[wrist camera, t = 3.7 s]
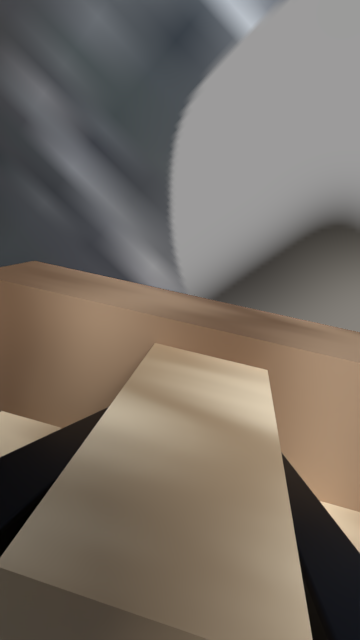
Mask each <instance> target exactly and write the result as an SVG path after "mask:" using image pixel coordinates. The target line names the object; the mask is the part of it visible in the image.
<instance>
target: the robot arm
mask: <svg viewBox="0 0 360 640" xmlns="http://www.w3.org/2000/svg"><path fill="white" fill-rule="evenodd" d="M108 408H109V407H107V408H105V409H103V410H101V411H98V412H96V413H94V414H92V415H90V416H88V417H85V418H83V419H81V420H79V421H77V422H75V423H73V424H70V425H68V426H66V427H64V428H62V429H60V430H57V431H55V432H53V433H51V434H49V435H47V436H44V437H42V438H40V439H38V440H36V441H34V442H32V443H29V444H27V445H25V446H23V447H21V448H19V449H16V450H14V451H12V452H10V453H8V454H6V455H4V456H1V457H0V557H1V556H2V554H3V553H4V552H5V550H6V549H7V547H8V546H9V545H10V543H11V542H12V541H13V539H14V538H15V536H16V535H17V534H18V532H19V531H20V529H21V528H22V527H23V525H24V524H25V523H26V521H27V520H28V518H29V517H30V516H31V514H32V513H33V511H34V510H35V509H36V507H37V506H38V505H39V503H40V502H41V500H42V499H43V498H44V496H45V495H46V493H47V492H48V491H49V489H50V488H51V487H52V485H53V484H54V482H55V481H56V480H57V478H58V477H59V475H60V474H61V473H62V471H63V470H64V469H65V467H66V466H67V464H68V463H69V462H70V460H71V459H72V457H73V456H74V455H75V453H76V452H77V450H78V449H79V448H80V446H81V445H82V444H83V442H84V441H85V439H86V438H87V437H88V435H89V434H90V432H91V431H92V430H93V428H94V427H95V426H96V424H97V423H98V421H99V420H100V419H101V417H102V416H103V414H104V413H105V412H106V410H107V409H108ZM281 454H282V459H283V465H284V471H285V477H286V483H287V489H288V495H289V501H290V507H291V513H292V519H293V525H294V531H295V537H296V543H297V549H298V555H299V561H300V567H301V573H302V579H303V585H304V591H305V597H306V603H307V609H308V615H309V621H310V627H311V633H312V639H313V640H360V552H359V551H358V550H357V549H356V547H355V546H354V545H353V543H352V542H351V541H350V540H349V538H348V537H347V536H346V534H345V533H344V532H343V531H342V529H341V528H340V527H339V525H338V524H337V523H336V522H335V520H334V519H333V518H332V516H331V515H330V514H329V513H328V511H327V510H326V509H325V507H324V506H323V505H322V504H321V502H320V501H319V500H318V498H317V497H316V496H315V494H314V493H313V492H312V491H311V489H310V488H309V487H308V485H307V484H306V483H305V482H304V480H303V479H302V478H301V476H300V475H299V474H298V473H297V471H296V470H295V469H294V467H293V466H292V465H291V464H290V462H289V461H288V460H287V458H286V457H285V456H284V455H283V453H282V452H281Z"/></svg>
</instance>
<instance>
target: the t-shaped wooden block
mask: <svg viewBox="0 0 360 640" xmlns="http://www.w3.org/2000/svg"><path fill="white" fill-rule="evenodd" d="M60 429H62V428H60V427H57V426H53V425H50V424H46V423H43V422H39V421H36V420H32V419H29V418H25V417H21V416H18V415H14V414H11V413H7V412H4V411H1V412H0V457H1V456H4V455H6V454H8V453H10V452H12V451H14V450H16V449H19V448H21V447H23V446H25V445H27V444H29V443H32V442H34V441H36V440H38V439H40V438H42V437H44V436H47V435H49V434H51V433H53V432H55V431H57V430H60ZM320 502H321V504H322V505H323V506H324V507H325V509H326V510H327V511H328V513H329V514H330V515H331V516H332V518H333V519H334V520H335V522H336V523H337V524H338V525H339V527H340V528H341V529H342V531H343V532H344V533H345V534H346V536H347V537H348V538H349V540H350V541H351V542H352V543H353V545H354V546H355V547H356V549H357V550H358V551H359V552H360V512H357V511H354V510H350V509H347V508H343V507H340V506H336V505H332V504H329V503H325V502H322V501H320ZM0 640H313V639H312V633H311V627H310V621H309V615H308V609H307V603H306V597H305V591H304V585H303V579H302V573H301V567H300V561H299V555H298V549H297V543H296V537H295V531H294V525H293V519H292V513H291V507H290V501H289V495H288V489H287V483H286V477H285V471H284V465H283V459H282V454H281V448H280V442H279V436H278V430H277V424H276V418H275V412H274V406H273V400H272V394H271V388H270V382H269V376H268V370H265V369H261V368H257V367H253V366H248V365H244V364H240V363H236V362H232V361H228V360H224V359H219V358H215V357H211V356H207V355H203V354H199V353H195V352H190V351H186V350H182V349H178V348H174V347H170V346H165V345H161V344H157V343H155V344H154V345H153V347H152V348H151V349H150V351H149V352H148V353H147V355H146V356H145V358H144V359H143V360H142V362H141V363H140V365H139V366H138V367H137V369H136V370H135V371H134V373H133V374H132V376H131V377H130V378H129V380H128V381H127V383H126V384H125V385H124V387H123V388H122V390H121V391H120V392H119V394H118V395H117V396H116V398H115V399H114V401H113V402H112V403H111V405H110V406H109V408H108V409H107V410H106V412H105V413H104V414H103V416H102V417H101V419H100V420H99V421H98V423H97V424H96V426H95V427H94V428H93V430H92V431H91V432H90V434H89V435H88V437H87V438H86V439H85V441H84V442H83V444H82V445H81V446H80V448H79V449H78V450H77V452H76V453H75V455H74V456H73V457H72V459H71V460H70V462H69V463H68V464H67V466H66V467H65V469H64V470H63V471H62V473H61V474H60V475H59V477H58V478H57V480H56V481H55V482H54V484H53V485H52V487H51V488H50V489H49V491H48V492H47V493H46V495H45V496H44V498H43V499H42V500H41V502H40V503H39V505H38V506H37V507H36V509H35V510H34V511H33V513H32V514H31V516H30V517H29V518H28V520H27V521H26V523H25V524H24V525H23V527H22V528H21V529H20V531H19V532H18V534H17V535H16V536H15V538H14V539H13V541H12V542H11V543H10V545H9V546H8V547H7V549H6V550H5V552H4V553H3V554H2V556H1V557H0Z"/></svg>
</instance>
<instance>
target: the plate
mask: <svg viewBox="0 0 360 640" xmlns="http://www.w3.org/2000/svg"><path fill="white" fill-rule="evenodd" d="M155 343H157V344H161V345H165V346H170V347H174V348H178V349H182V350H186V351H190V352H195V353H199V354H203V355H207V356H211V357H215V358H219V359H224V360H228V361H232V362H236V363H240V364H244V365H248V366H253V367H257V368H261V369H265V370H268V376H269V382H270V388H271V394H272V400H273V406H274V412H275V418H276V424H277V430H278V436H279V442H280V448H281V452H282V453H283V455H284V456H285V457H286V458H287V460H288V461H289V462H290V464H291V465H292V466H293V467H294V469H295V470H296V471H297V473H298V474H299V475H300V476H301V478H302V479H303V480H304V482H305V483H306V484H307V485H308V487H309V488H310V489H311V491H312V492H313V493H314V494H315V496H316V497H317V498H318V500H319V501H322V502H325V503H329V504H332V505H336V506H340V507H343V508H347V509H350V510H354V511H357V512H360V332H355V331H351V330H346V329H342V328H337V327H332V326H328V325H324V324H319V323H315V322H310V321H306V320H301V319H296V318H292V317H287V316H283V315H278V314H274V313H269V312H265V311H260V310H256V309H251V308H246V307H242V306H237V305H233V304H228V303H223V302H219V301H215V300H210V299H206V298H201V297H197V296H192V295H187V294H183V293H178V292H174V291H169V290H165V289H160V288H156V287H151V286H147V285H142V284H138V283H133V282H128V281H124V280H119V279H115V278H110V277H106V276H101V275H97V274H92V273H88V272H83V271H79V270H74V269H69V268H65V267H60V266H56V265H51V264H47V263H42V262H38V261H31V262H26V263H21V264H15V265H10V266H5V267H0V412H1V411H4V412H7V413H11V414H14V415H18V416H21V417H25V418H29V419H32V420H36V421H39V422H43V423H46V424H50V425H53V426H57V427H60V428H64V427H66V426H68V425H70V424H73V423H75V422H77V421H79V420H81V419H83V418H85V417H88V416H90V415H92V414H94V413H96V412H98V411H101V410H103V409H105V408H107V407H109V406H110V405H111V403H112V402H113V401H114V399H115V398H116V396H117V395H118V394H119V392H120V391H121V390H122V388H123V387H124V385H125V384H126V383H127V381H128V380H129V378H130V377H131V376H132V374H133V373H134V371H135V370H136V369H137V367H138V366H139V365H140V363H141V362H142V360H143V359H144V358H145V356H146V355H147V353H148V352H149V351H150V349H151V348H152V347H153V345H154V344H155Z"/></svg>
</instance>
